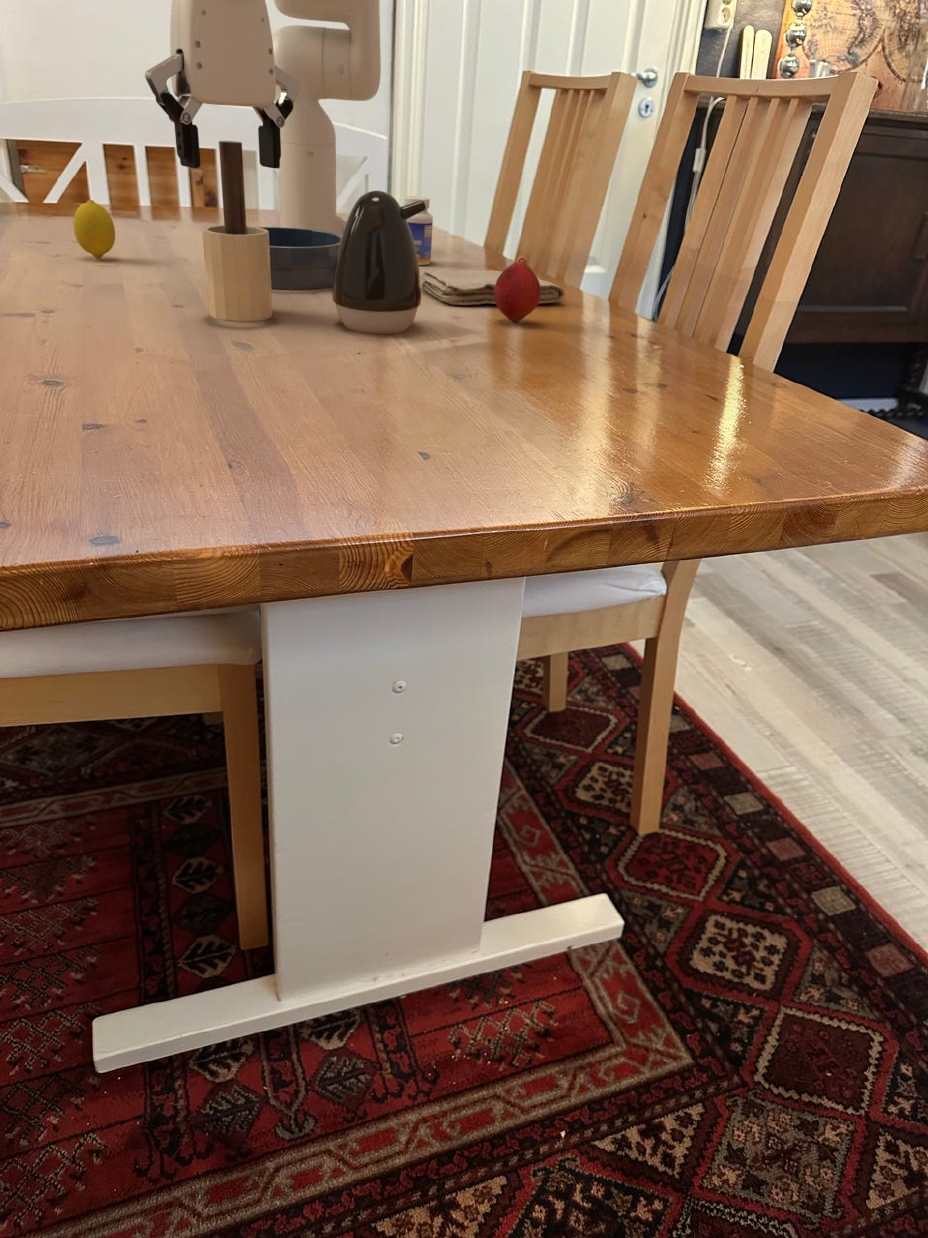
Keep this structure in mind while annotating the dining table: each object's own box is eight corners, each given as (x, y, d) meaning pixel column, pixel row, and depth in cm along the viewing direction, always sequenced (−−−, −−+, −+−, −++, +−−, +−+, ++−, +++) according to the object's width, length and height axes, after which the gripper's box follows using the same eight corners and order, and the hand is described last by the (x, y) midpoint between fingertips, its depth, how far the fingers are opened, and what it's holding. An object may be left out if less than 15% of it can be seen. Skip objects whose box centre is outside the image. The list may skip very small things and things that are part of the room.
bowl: (302, 266, 137) (301, 224, 134) (372, 288, 127) (372, 243, 124) (197, 275, 127) (193, 229, 124) (264, 300, 116) (261, 251, 113)
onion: (505, 329, 111) (511, 261, 107) (483, 318, 115) (488, 252, 111) (545, 327, 114) (552, 260, 110) (522, 316, 118) (528, 251, 114)
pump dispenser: (428, 344, 102) (434, 198, 95) (336, 343, 100) (334, 193, 92) (414, 322, 111) (418, 187, 103) (329, 321, 109) (327, 182, 101)
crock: (251, 311, 111) (246, 223, 105) (284, 324, 106) (280, 233, 101) (198, 317, 106) (190, 226, 101) (229, 330, 102) (223, 236, 97)
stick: (244, 310, 107) (234, 140, 98) (255, 314, 106) (246, 142, 97) (226, 312, 106) (214, 140, 97) (237, 316, 104) (225, 142, 95)
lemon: (110, 263, 130) (102, 203, 126) (72, 260, 130) (63, 200, 126) (123, 257, 135) (116, 198, 131) (86, 254, 135) (78, 195, 131)
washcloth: (415, 288, 129) (416, 265, 127) (528, 287, 135) (530, 265, 133) (444, 307, 120) (445, 283, 118) (564, 305, 126) (566, 282, 124)
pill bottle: (391, 262, 145) (393, 196, 140) (406, 258, 150) (408, 194, 145) (422, 267, 144) (425, 200, 139) (436, 262, 148) (438, 197, 143)
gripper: (274, -14, 96) (280, 164, 105) (118, -37, 86) (139, 162, 95) (314, -16, 92) (317, 170, 101) (155, -40, 81) (173, 170, 90)
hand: (231, 166), depth 98 cm, fingers open, 9 cm apart
